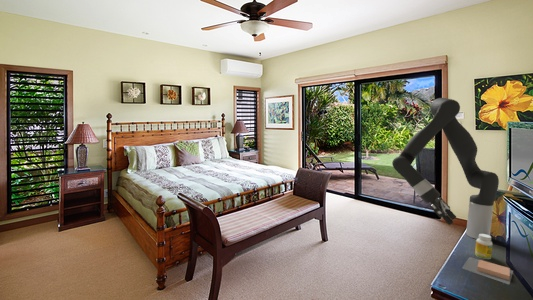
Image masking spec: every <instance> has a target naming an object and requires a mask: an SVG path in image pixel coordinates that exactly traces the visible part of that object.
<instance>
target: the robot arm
mask: <svg viewBox="0 0 533 300" xmlns="http://www.w3.org/2000/svg"><path fill="white" fill-rule="evenodd" d="M429 108H430V113H431V114H432V116H433V118H432V119H431V120H430V122H428V124H427V125H426V126H424V127H422V128H421V129H420V130H419V131H417V132H416V133H415V134H414V135H413V136H412V137H411V138H410V139H409V140H408V142H407V144H406V145H405V146H404V148H403V150H402V151H401V153H400V154H399V155H398V156H395V158H393V160H392V164H391V165H392V168H393V169H394V170H395V171H396V172H397V173H398V174H399V175H400V176H401V177H402V178H404V180H405V181H406V183H408V184H409V186H410V188H412V189H413V191H414V192H415V193H416V194H417V195H418V196H419V198H420V199H421V200H422V201H423V202H424V203H425V204H429V203H430V204H431V205H430V206H429V207H430V208H431V209H432V211H433V212H434V213H435V214H436V216H438V218H442V219H443V220H444V221H445V222H446V224H448V225H449V226H450V225H452V224H454V220H455V219H456V218H457V216H456V214H455V213H454V212H453V211H452V210H451V207H450V205H448V203H447V202H446V201H445V200H444V199H443V198H442V197H440V196H441V193H440V192H439V191H438V190H437V189H436V188H435V186H433V185H432V183H430V181H428V180H427V179H426V178H425V176H423V175H422V174H421V172H419V171H418V170H417V169H415V168H414V166H413V165H412V164H413V162H414V160H416V158H417V156H419V155H420V154H421V152H422V151H423V150H424V148H426V146H427V144H429V143H430V141H432V139H433V138H434V137H435V136H437V135H438V133H439V132H440V131H441V130H442V132H443V133H444V135H445V137H446V139H447V141H448V144H449V145H450V147H451V149H452V151H453V153H454V155H455V156H456V159H457V160H458V163H459V164H460V166H461V168H462V171H463V174H464V177H465V179H466V181H467V183H468V184H469V186H471V187H473V188H476V189H478V190H479V192H478V194H472V195H469V196H470V197H469V202H468V213H467V221H466V222H467V223H466V231H465V235H466V236H467V237H469V238H471V239H475V240H477V239H478V238H479V234H486V235H489V236H491V230H492V221H493V220H492V219H493V212H494V203H495V201H496V198H497V195H498V194H497V193H498V190H499V186H500V185H499V184H500V181H499V176H498V174H496V172H492V171H486V170H482V169H480V167H479V166H478V164H477V162H476V157H477V153H478V145H477V144H476V143H477V142H475V140H474V137H473V136H472V135H471V134H470V132H469V131H468V130H467V129H466V127H464V126H463V125H462V124H461V122H460V121H459V120H458V119H457V116H458V114H459V112H460V109H461V106H460V103H459V102H458V100H455V99H452V98H447V97H438V98H436V99H434V100H433V101H432V102H431V104H430V107H429Z"/></svg>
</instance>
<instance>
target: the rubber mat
mask: <svg viewBox="0 0 533 300" xmlns="http://www.w3.org/2000/svg"><path fill="white" fill-rule="evenodd" d="M479 260H480V259H476V258H475V257H470V256H469V257H468V258H467V259H466V261H465V262H464V265H463V266H462V267H461V269H462V270H464V271H467V272H470V273H474V274H477V275H480V276H483V277H486V278H489V279H492V280H495V281H497V282H500V283H503V284H505V285H508V286H509V285H510V284H511V282H512V278H513V277H512V276H513V274H514V270H512V269H510V277H509V280H507V279H503V278H500V277H497V276H494V275H490V274H487V273H484V272H481V271H477V267H478V263H479Z"/></svg>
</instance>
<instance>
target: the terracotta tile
mask: <svg viewBox="0 0 533 300" xmlns="http://www.w3.org/2000/svg"><path fill="white" fill-rule="evenodd" d="M478 260H479V263H478V267H477V271H481V272H484V273H487V274H490V275H494V276H497V277H500V278H503V279H507V280H509V277H510V270H511V268H510V267H507V266H503V265H499V264H496V263H494V262H493V263H492V262H490V261H485V260H482V259H478Z"/></svg>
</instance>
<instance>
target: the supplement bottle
mask: <svg viewBox="0 0 533 300" xmlns="http://www.w3.org/2000/svg"><path fill="white" fill-rule="evenodd" d="M474 249H475V250H474V255H475V256H476V257H477V258H480V259H483V260H491V259H492V252H493V241H492V236H491V235H490V236H489V235H486V234H479V238H478V239H475V248H474Z"/></svg>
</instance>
